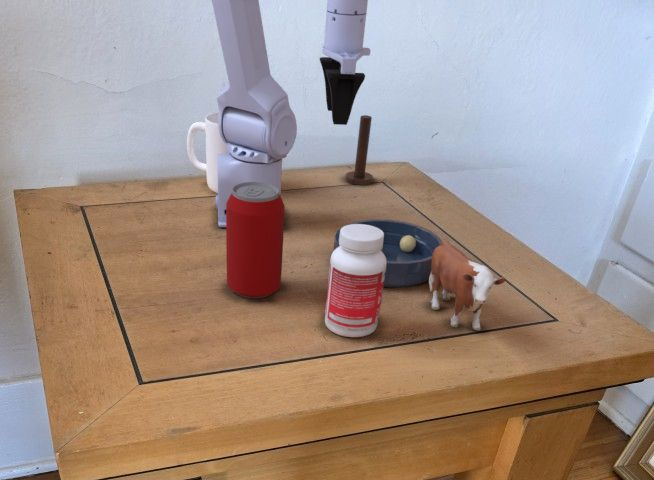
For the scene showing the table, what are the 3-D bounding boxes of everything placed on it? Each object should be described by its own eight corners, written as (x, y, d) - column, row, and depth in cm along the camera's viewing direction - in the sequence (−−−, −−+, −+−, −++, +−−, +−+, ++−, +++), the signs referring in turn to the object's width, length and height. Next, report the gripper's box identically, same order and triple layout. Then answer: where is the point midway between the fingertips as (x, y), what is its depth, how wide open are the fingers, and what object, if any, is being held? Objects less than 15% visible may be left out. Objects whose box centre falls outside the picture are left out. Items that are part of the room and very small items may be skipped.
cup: (246, 199, 109) (247, 128, 102) (177, 187, 112) (173, 117, 105) (265, 183, 115) (267, 115, 108) (199, 171, 118) (197, 105, 111)
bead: (410, 241, 97) (420, 248, 95) (398, 251, 97) (408, 258, 95) (407, 229, 95) (417, 236, 94) (394, 239, 95) (404, 246, 94)
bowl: (339, 289, 88) (342, 262, 86) (327, 243, 98) (329, 218, 96) (449, 290, 89) (455, 264, 87) (425, 245, 99) (430, 220, 97)
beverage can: (289, 284, 88) (295, 186, 80) (266, 306, 84) (269, 205, 75) (241, 272, 90) (242, 175, 82) (216, 293, 86) (215, 193, 77)
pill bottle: (383, 337, 79) (399, 242, 72) (332, 341, 78) (343, 245, 71) (366, 311, 84) (379, 219, 76) (318, 315, 83) (326, 221, 75)
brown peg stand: (341, 182, 117) (348, 118, 111) (349, 174, 120) (356, 111, 114) (368, 186, 116) (376, 122, 109) (375, 178, 119) (383, 115, 113)
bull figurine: (461, 349, 78) (478, 280, 73) (417, 294, 88) (429, 230, 82) (496, 346, 79) (516, 278, 74) (449, 292, 89) (464, 228, 83)
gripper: (382, 22, 94) (369, 131, 104) (366, 5, 105) (355, 105, 114) (331, 19, 94) (322, 129, 103) (320, 3, 104) (313, 104, 114)
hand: (336, 117), depth 109 cm, fingers open, 7 cm apart
